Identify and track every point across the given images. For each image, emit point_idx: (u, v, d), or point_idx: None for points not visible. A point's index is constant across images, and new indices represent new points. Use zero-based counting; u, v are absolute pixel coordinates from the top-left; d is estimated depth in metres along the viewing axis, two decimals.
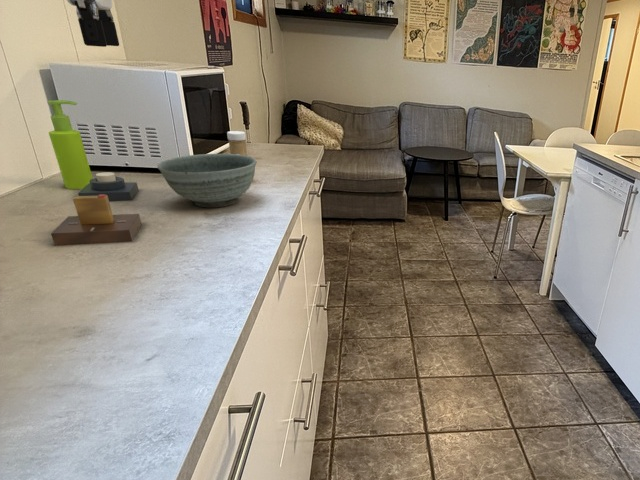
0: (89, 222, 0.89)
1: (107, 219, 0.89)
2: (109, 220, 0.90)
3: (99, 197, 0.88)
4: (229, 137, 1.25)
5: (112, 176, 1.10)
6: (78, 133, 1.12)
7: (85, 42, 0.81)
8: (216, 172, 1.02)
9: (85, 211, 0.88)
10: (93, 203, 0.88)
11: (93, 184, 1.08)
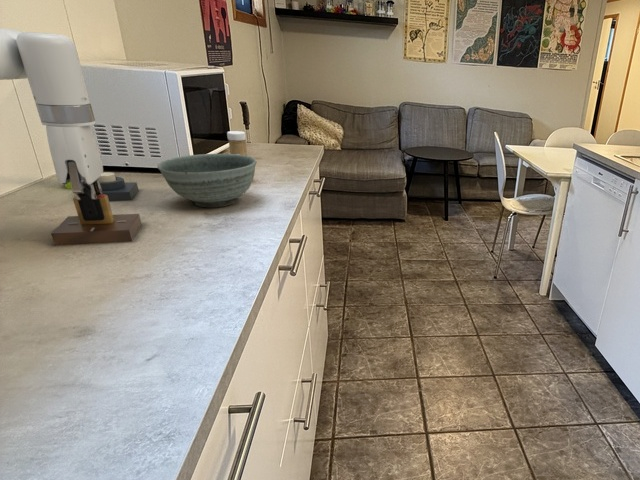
0: (89, 222, 0.89)
1: (107, 219, 0.89)
2: (109, 220, 0.90)
3: (99, 197, 0.88)
4: (229, 137, 1.25)
5: (112, 176, 1.10)
6: None
7: (84, 218, 0.88)
8: (216, 172, 1.02)
9: None
10: None
11: None
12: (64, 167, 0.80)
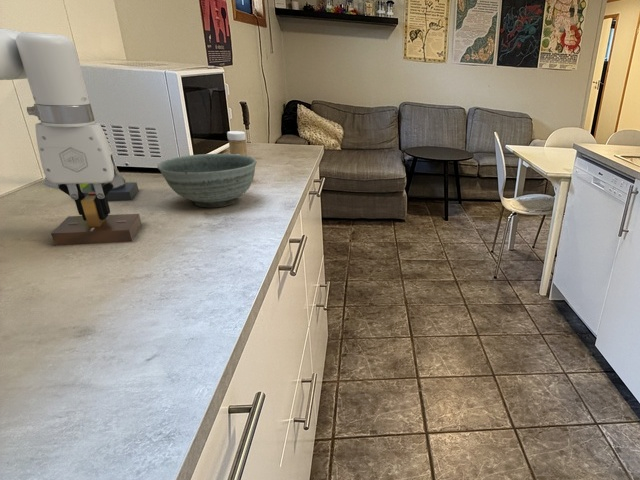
0: (101, 222, 0.89)
1: None
2: None
3: None
4: (229, 137, 1.25)
5: None
6: None
7: (103, 217, 0.89)
8: (216, 172, 1.02)
9: None
10: None
11: None
12: (111, 162, 0.85)
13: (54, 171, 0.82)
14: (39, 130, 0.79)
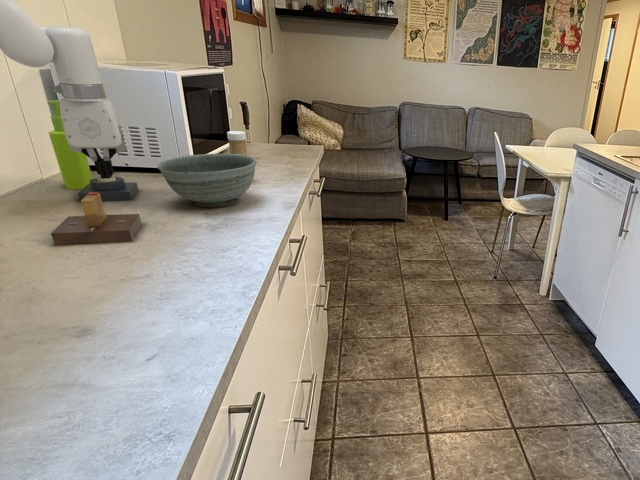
0: (101, 222, 0.89)
1: (104, 215, 0.91)
2: (105, 215, 0.92)
3: (97, 194, 0.89)
4: (229, 137, 1.25)
5: (113, 179, 1.10)
6: None
7: (109, 176, 1.10)
8: (216, 172, 1.02)
9: (98, 211, 0.88)
10: (98, 200, 0.89)
11: (93, 184, 1.08)
12: (119, 131, 1.07)
13: (74, 137, 1.03)
14: (63, 104, 1.00)
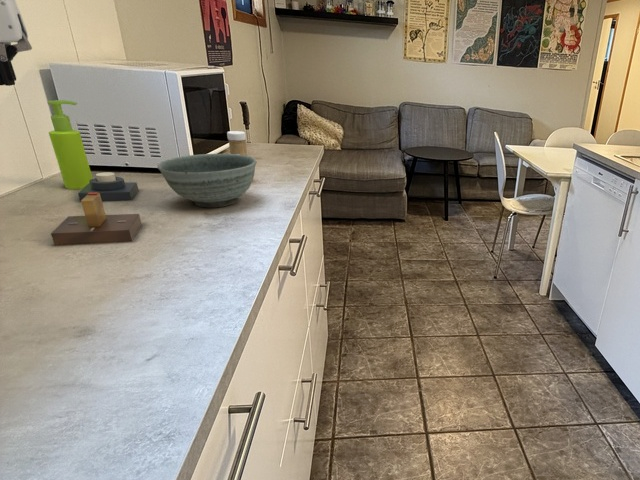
0: (101, 222, 0.89)
1: (104, 215, 0.91)
2: (105, 215, 0.92)
3: (97, 194, 0.89)
4: (229, 137, 1.25)
5: (112, 176, 1.10)
6: (78, 133, 1.12)
7: (8, 83, 0.86)
8: (216, 172, 1.02)
9: (98, 211, 0.88)
10: (98, 200, 0.89)
11: (93, 184, 1.08)
12: (18, 21, 0.83)
13: None
14: None
